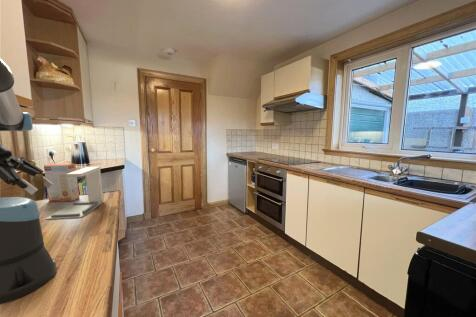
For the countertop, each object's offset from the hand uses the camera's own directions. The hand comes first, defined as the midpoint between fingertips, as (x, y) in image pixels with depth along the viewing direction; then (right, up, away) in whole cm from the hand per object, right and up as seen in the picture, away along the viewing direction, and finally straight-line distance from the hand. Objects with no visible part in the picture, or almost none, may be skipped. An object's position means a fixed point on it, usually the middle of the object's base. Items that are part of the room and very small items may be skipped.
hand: (43, 189), depth 86 cm
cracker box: (-18, -11, +32) cm, 38 cm away
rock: (-3, -4, -1) cm, 5 cm away
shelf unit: (0, -13, +18) cm, 22 cm away
